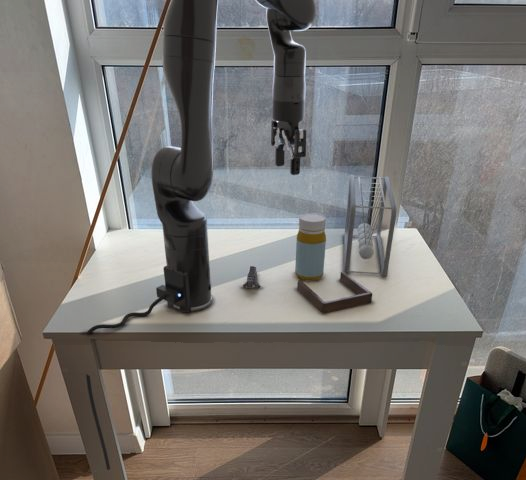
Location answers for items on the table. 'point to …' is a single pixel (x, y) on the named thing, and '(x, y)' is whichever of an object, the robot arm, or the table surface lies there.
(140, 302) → the table surface
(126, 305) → the table surface
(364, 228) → the newton's cradle
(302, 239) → the bottle
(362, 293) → the bay
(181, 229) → the robot arm
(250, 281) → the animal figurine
